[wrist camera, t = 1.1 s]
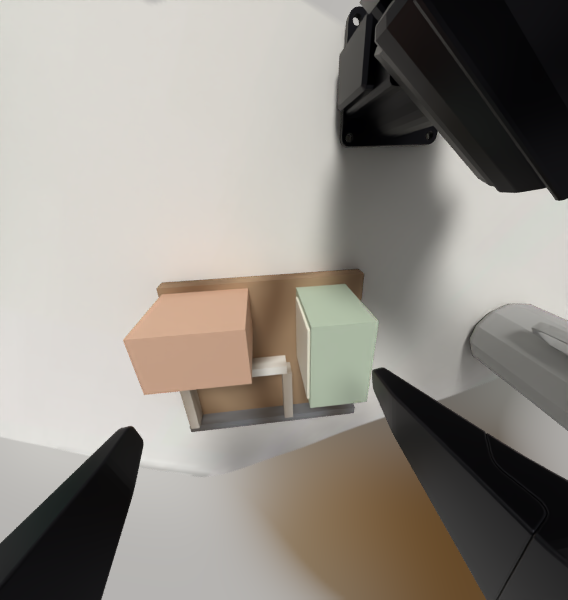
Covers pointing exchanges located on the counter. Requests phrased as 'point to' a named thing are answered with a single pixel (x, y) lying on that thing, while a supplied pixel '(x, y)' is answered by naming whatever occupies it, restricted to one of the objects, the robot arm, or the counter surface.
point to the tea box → (334, 344)
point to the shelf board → (264, 354)
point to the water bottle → (527, 354)
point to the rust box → (193, 342)
